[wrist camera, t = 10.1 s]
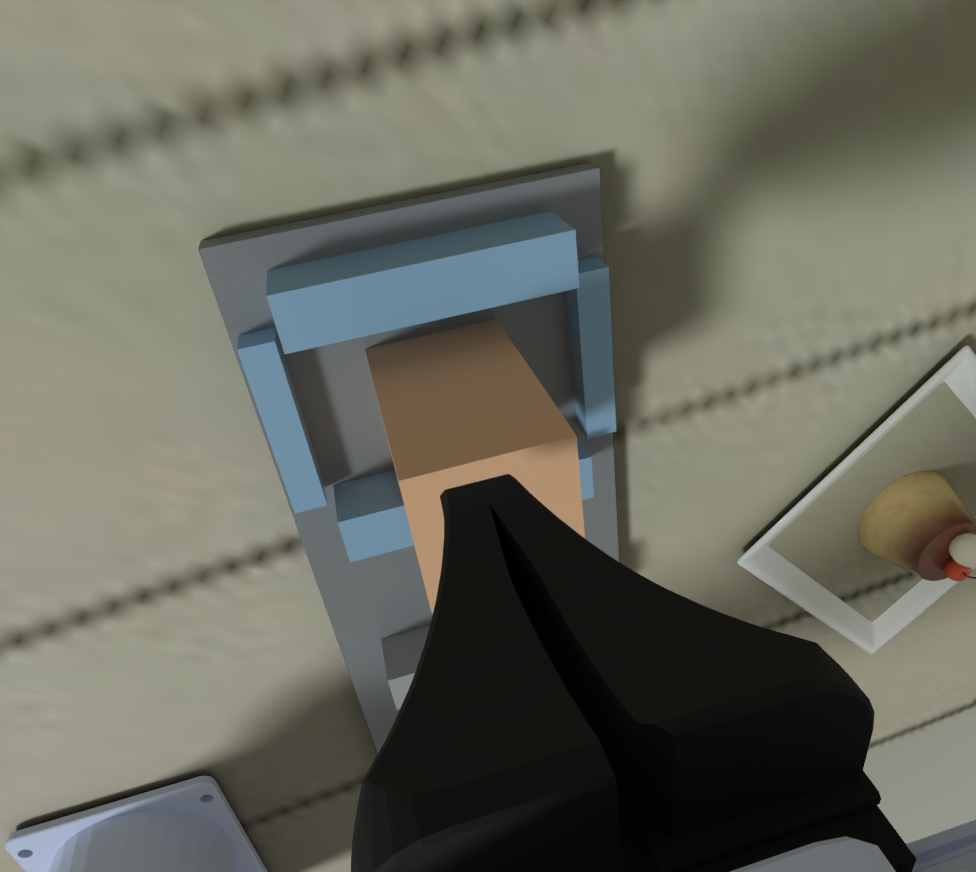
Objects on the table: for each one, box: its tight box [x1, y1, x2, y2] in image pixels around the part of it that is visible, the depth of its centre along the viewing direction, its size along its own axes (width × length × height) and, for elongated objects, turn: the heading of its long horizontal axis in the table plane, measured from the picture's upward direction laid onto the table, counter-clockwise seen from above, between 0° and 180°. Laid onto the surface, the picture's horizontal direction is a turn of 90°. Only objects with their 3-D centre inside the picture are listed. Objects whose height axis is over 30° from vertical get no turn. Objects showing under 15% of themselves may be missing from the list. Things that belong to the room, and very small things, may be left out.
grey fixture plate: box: [198, 163, 619, 753], centre depth 26 cm, size 25×11×3 cm, turn 8°
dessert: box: [737, 345, 976, 655], centre depth 31 cm, size 12×12×5 cm
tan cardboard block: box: [365, 319, 585, 613], centre depth 20 cm, size 4×4×7 cm
